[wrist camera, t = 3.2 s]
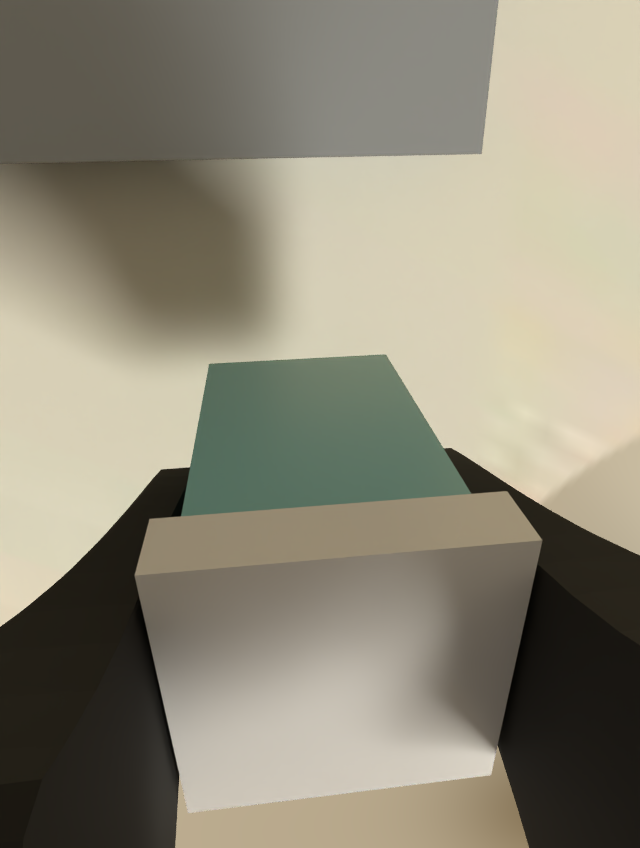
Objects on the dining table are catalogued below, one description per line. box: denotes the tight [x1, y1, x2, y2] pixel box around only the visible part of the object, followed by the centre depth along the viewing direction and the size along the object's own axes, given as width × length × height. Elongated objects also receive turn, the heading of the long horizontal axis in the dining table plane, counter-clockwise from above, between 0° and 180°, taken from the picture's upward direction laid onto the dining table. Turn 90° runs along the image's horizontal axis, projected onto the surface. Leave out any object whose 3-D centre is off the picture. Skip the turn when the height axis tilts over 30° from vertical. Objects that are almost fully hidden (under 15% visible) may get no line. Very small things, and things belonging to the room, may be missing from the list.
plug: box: [135, 355, 542, 813], centre depth 10 cm, size 5×5×7 cm
